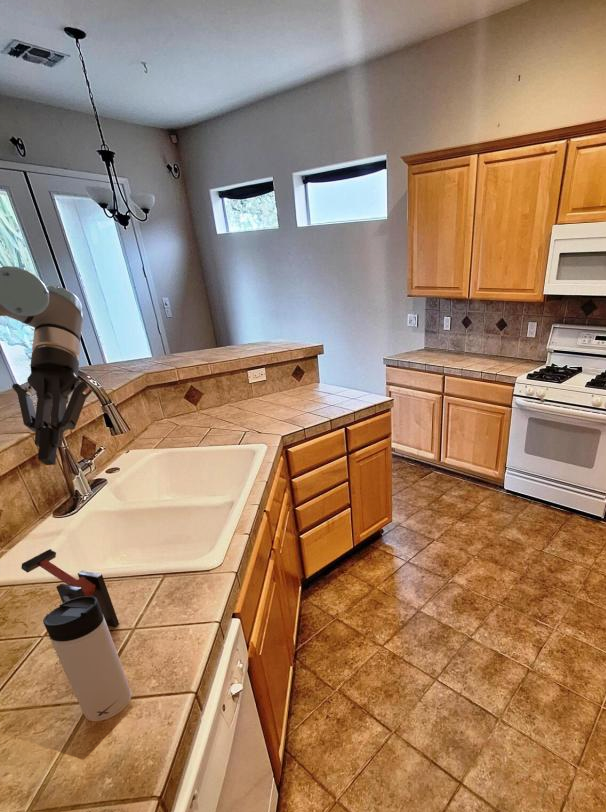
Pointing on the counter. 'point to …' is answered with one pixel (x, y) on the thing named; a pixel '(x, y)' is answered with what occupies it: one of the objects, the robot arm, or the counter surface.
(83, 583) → the lever
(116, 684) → the travel mug
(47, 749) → the counter surface
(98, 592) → the bracket
